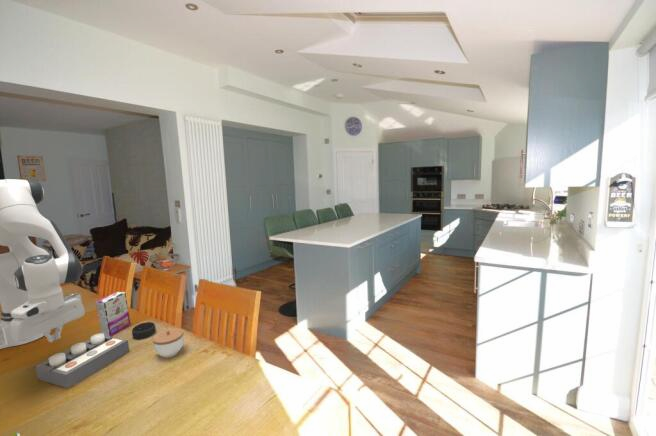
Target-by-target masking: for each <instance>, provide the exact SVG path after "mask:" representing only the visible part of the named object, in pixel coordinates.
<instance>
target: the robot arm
mask: <svg viewBox="0 0 656 436" xmlns="http://www.w3.org/2000/svg"><path fill="white" fill-rule="evenodd" d="M44 196H45V190H44V188H43V186H42V184H41V183H40V182H39V181H38V180H35V179H27V178H26V179H15V178H13V179H11V178H4V179H0V246H2V247H8V249H9V251H8V252H5V253H0V306H1V311H0V350H2V349H6V348H11V347H16V346H20V345H21V346H22V345H25V344H28V343H31V342H33V341H36V340H39V339H40V338H42V337H44V336H45V337H46V338H47V342H49V343H52V342H54V341H57V340H59V339H61V338H62V337H61V336H62V335H61V333H62V330H63V328H64V325H65V324H67V323H69V322H72V321H75V320H77V319H80V318H82V317H84V315H85V313H86V311H85V307H84V304H83V302H82V295H81V294H80V293H77V292H74V293H71V294H68V295H65V296H64V292H63V288H62V287H61V285H62V284H69V283H75V282H77V281H78V280H79V279H80V277H81V276H82V275H83V274H84V266H83V264H82V262H81V261H80V258H78V256H77V255H76V254H75V253H74V251H73V249H72V248H71V246H70V244H69V243H68V242H67V240H66V238H65V236H64V234H63V233H62V232H61V230H60V228H59V227H58V225H57V224H56V223H55V222H54V221H53V220H51V219H48V218H46V217H45V216H43V215H42V214H41V213H40V212H39V210H38V206H37V205H38V204H40V203H41V202H42V201H43V200H44ZM29 237H33V238H38V239H39V238H40V239H44V240H46V241H48V242H49V243H50V245H51V246H52V248H53V249H54V251H55V253H56V255H57V258H54V256H52V255H50V254H49V252H48V251H47V250H46V249H45V248H44V249H43V248H42V247H38V245H35V244H34V243H33V242H32V241H31V240H30V238H29ZM53 329H55V331H54V333H53V334H50V333H52V332H51V331H52V330H53Z"/></svg>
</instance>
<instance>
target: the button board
mask: <svg viewBox="0 0 656 436" xmlns="http://www.w3.org/2000/svg"><path fill="white" fill-rule="evenodd" d="M104 337H105V342H104V343H103V344H101V345H99V346H97V347H96V345H91V339H87V340H85V341H83V342H84V343H86V349H87V352H86V353H84V354H82V355H80V356H78V357H77V356H75V355H72V353H71V348H69V349H68V350H65V351H64V352H62V353H65V357H66V362H67V363H65V364H63V365H61V366H59V367H57V368H56V369H55V368H54V367H51V366H50V364H49V359H47V360H45V361H43V362H40V363H39V364H38V365H36V366H35V371H36V376H37V379H38V380H39V381H41V382H46V383H50V384H52V385H57V386H59V387H63V388H66V389H70V388H72V387H73V386H75V385H77V384H78V383H80V382H81V381H84V380H86V378H88V377H90V376H91V375H94V374H95V373H96V372H98V371H100V370H102V369H104V367H106V366H108V365H110V364H112V363H113V362H115V361H116V360H118V359H120V358H121V357H123V356H124V355H126V354H128V353H130V345H129V340H128V339H124V338H119V337H115V336H111V337H110V336H105V335H104Z"/></svg>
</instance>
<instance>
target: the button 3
mask: <svg viewBox="0 0 656 436" xmlns="http://www.w3.org/2000/svg"><path fill="white" fill-rule="evenodd" d="M90 339H91V345H96V347H97V346H99V345H101V344H103V343H104V342H105V337H104V334H103V333H101V332H99V333H96V334H93V335H91V336H90Z"/></svg>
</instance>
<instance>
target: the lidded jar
mask: <svg viewBox="0 0 656 436" xmlns="http://www.w3.org/2000/svg"><path fill="white" fill-rule="evenodd" d="M184 337H185V335H184V330H183V329H182V328H179V327H172V328H171V327H170V328H167V329H164V330H161V331H159V332H157V333H156V334H155V335H154V336H153V337H152V343H153V348H154V350H155V352H156V354H158V355H159V356H161V357H162V358H166V359H167V358H171V357H174V356H176V355H178V353H180V350H181V349H182V348H183V346H184V340H185V339H184Z"/></svg>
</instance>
